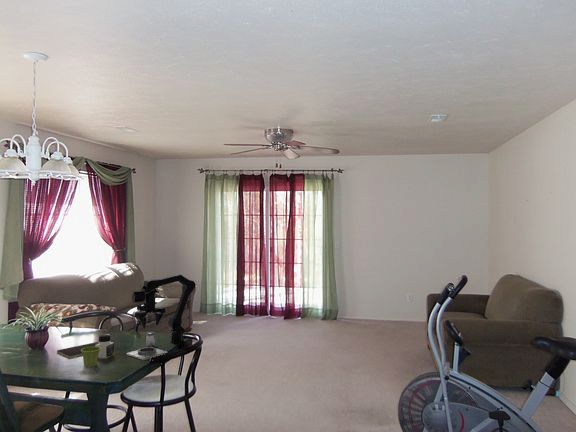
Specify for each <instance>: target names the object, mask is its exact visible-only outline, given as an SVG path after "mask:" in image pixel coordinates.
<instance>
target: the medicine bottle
mask: <svg viewBox="0 0 576 432" xmlns="http://www.w3.org/2000/svg"><path fill="white" fill-rule="evenodd" d="M98 343H99V344H97V345H95V347H100V348H101V349H100V351H99V354H98V359H108V358H110V357H113V356H114V355H115V344H114V342H113V341H111V334H109V333H105V334H104V333H103V334H101V335H99V336H98Z"/></svg>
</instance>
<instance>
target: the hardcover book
mask: <svg viewBox="0 0 576 432" xmlns="http://www.w3.org/2000/svg"><path fill="white" fill-rule="evenodd" d="M97 344H99V341H98V342H97V341H95V342H92V343H91V342H90V343H85V344H82V345H81V344H80V345H76V346H70V347H66V348H61V349H57V351H56V353H57V354H59V355H60V356H63V355H64V356H63V357H65V356H66V357H65V358H67V359H73V358H78V357H83V354H82V351H81V349H83V348H86V347H95V345H97Z"/></svg>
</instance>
